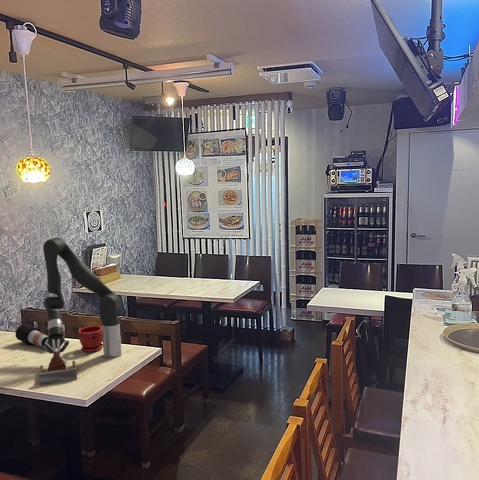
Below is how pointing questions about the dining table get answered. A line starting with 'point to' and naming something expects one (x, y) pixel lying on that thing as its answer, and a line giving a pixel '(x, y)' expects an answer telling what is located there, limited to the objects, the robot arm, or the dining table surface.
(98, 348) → the plant pot
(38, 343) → the cable
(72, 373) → the guide channel
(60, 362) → the poop emoji
